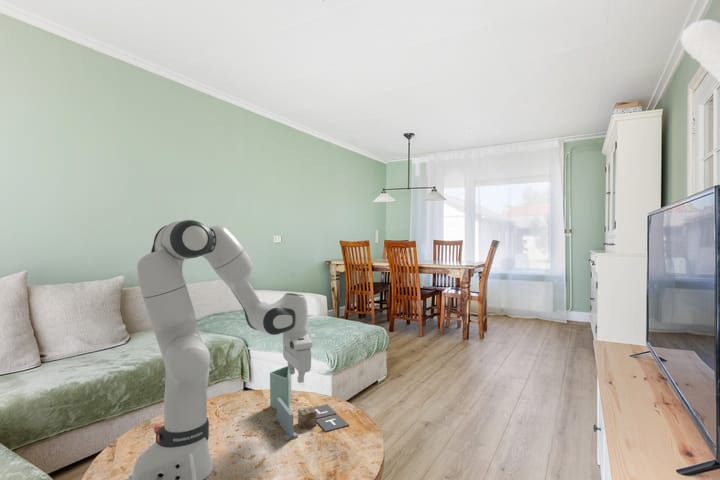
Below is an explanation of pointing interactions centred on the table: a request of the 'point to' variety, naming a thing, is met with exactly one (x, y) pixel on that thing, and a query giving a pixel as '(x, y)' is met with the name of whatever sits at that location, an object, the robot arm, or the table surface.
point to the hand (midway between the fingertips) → (296, 377)
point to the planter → (280, 387)
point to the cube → (307, 417)
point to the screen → (285, 419)
